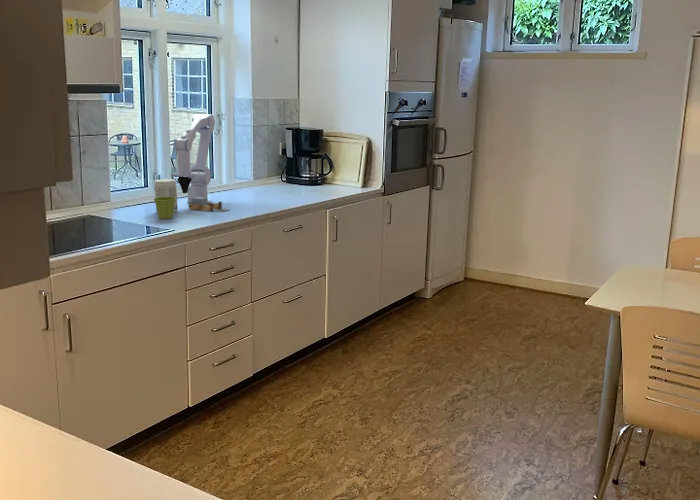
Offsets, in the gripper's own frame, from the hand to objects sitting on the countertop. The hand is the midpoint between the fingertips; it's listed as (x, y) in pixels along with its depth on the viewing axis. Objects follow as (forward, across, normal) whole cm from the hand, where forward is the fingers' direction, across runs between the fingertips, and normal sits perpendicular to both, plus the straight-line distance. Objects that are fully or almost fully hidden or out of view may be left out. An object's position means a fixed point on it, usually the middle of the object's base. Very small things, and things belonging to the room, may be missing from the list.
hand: (185, 192), depth 329 cm
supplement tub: (+7, 0, -14) cm, 16 cm away
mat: (+7, +20, 0) cm, 21 cm away
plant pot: (+7, +8, -27) cm, 29 cm away
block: (+7, +8, 0) cm, 11 cm away
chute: (+7, +11, 0) cm, 13 cm away
